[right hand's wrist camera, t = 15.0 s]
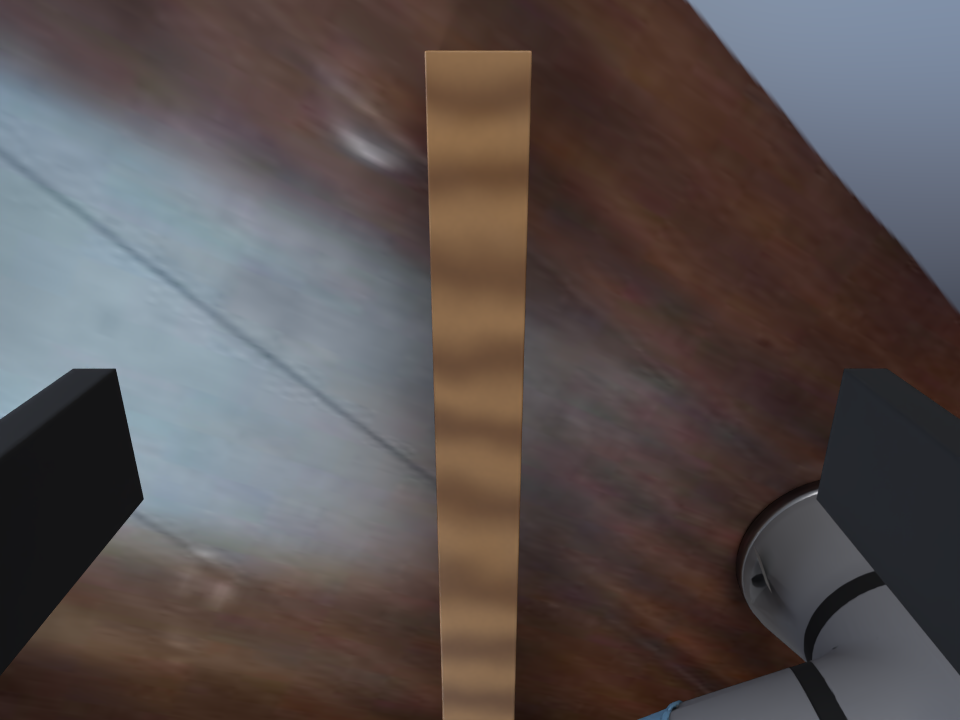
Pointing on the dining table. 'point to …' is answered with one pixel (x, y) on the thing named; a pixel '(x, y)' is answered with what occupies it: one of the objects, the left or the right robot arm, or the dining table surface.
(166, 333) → the dining table surface
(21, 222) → the dining table surface
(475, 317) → the bar
